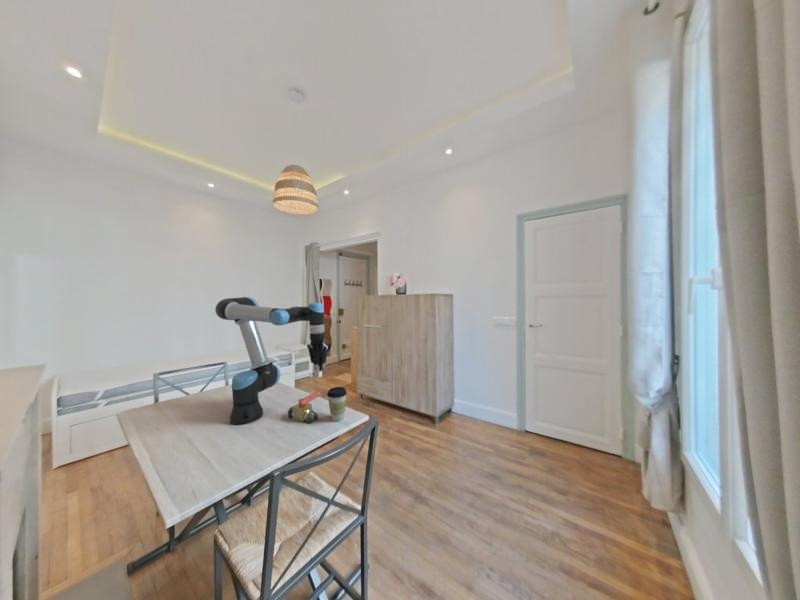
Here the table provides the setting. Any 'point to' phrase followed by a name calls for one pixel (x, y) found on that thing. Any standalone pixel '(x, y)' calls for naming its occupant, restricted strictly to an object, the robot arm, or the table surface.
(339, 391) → the coffee cup
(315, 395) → the lever
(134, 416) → the table surface
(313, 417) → the pipe run
